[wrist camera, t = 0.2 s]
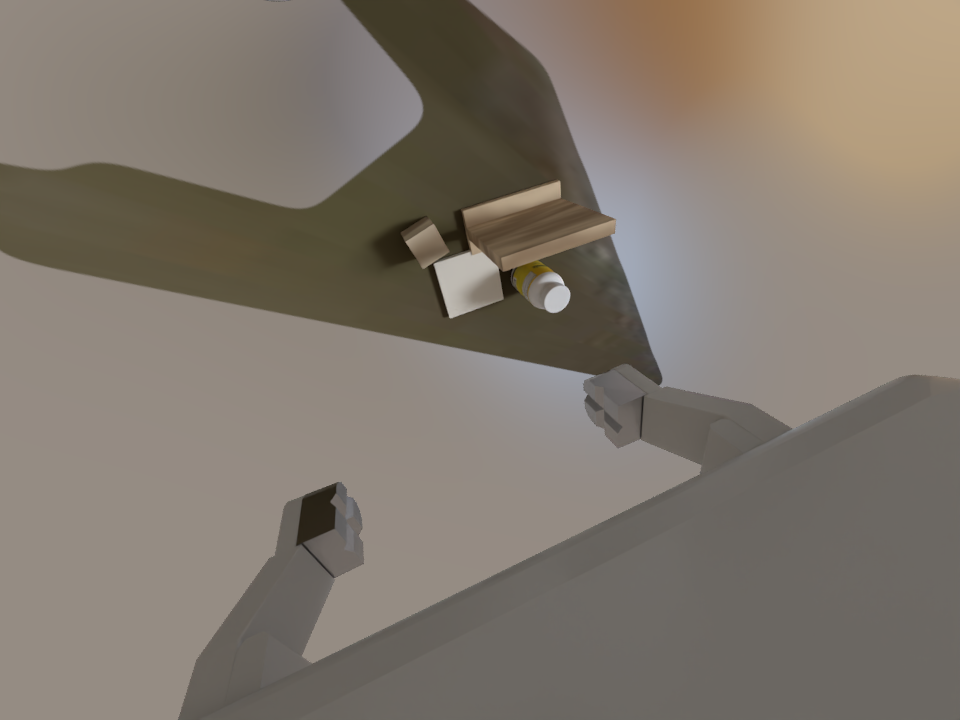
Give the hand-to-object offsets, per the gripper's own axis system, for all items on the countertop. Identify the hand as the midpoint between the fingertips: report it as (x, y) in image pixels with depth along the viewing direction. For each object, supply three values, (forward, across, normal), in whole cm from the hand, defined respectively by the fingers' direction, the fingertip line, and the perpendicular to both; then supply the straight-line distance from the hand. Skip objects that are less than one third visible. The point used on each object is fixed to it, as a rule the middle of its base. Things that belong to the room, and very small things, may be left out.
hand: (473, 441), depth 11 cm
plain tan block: (+40, -5, +2) cm, 40 cm away
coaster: (+40, -10, +10) cm, 43 cm away
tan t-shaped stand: (+40, -18, +3) cm, 44 cm away
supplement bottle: (+41, -19, +12) cm, 46 cm away
